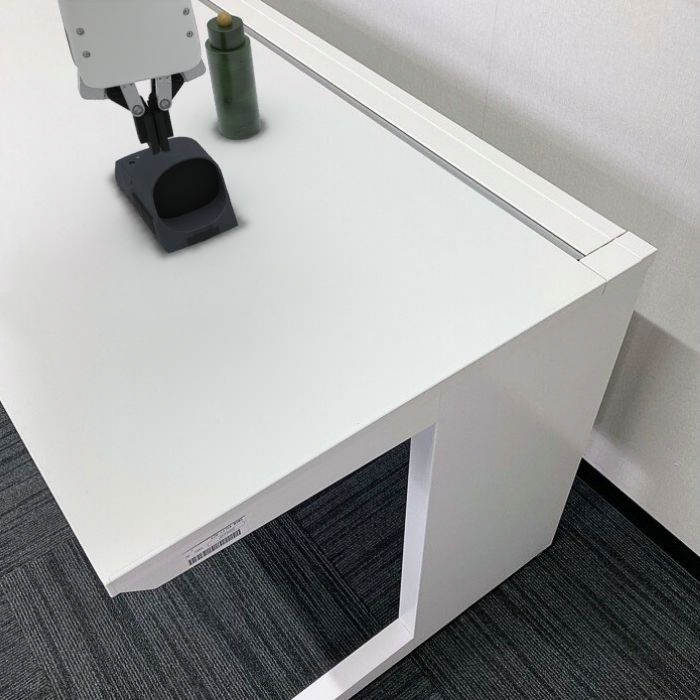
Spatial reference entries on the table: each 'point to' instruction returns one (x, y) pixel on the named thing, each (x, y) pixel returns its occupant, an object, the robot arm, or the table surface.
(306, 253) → the table surface
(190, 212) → the sight
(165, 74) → the robot arm
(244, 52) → the pepper mill
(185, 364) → the table surface
